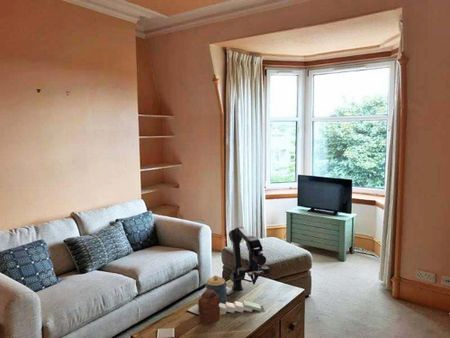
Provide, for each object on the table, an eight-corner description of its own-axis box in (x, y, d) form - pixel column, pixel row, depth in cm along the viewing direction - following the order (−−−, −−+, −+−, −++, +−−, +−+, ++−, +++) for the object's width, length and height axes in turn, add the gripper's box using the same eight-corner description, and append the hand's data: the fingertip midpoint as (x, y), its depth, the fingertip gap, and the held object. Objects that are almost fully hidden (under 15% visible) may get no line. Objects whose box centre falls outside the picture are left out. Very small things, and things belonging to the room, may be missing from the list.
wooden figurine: (215, 315, 196) (214, 285, 194) (221, 320, 191) (220, 289, 189) (197, 322, 190) (195, 291, 188) (203, 328, 184) (201, 295, 182)
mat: (221, 309, 203) (221, 308, 203) (262, 306, 205) (262, 305, 205) (222, 315, 196) (222, 315, 196) (265, 312, 198) (265, 311, 198)
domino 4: (250, 307, 204) (234, 303, 202) (250, 305, 203) (234, 301, 202) (251, 311, 199) (235, 308, 197) (252, 309, 198) (236, 305, 197)
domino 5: (258, 306, 204) (242, 303, 203) (259, 304, 204) (243, 300, 203) (260, 311, 199) (244, 307, 198) (261, 308, 199) (244, 304, 198)
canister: (231, 302, 211) (230, 274, 209) (216, 311, 201) (216, 282, 200) (216, 296, 220) (215, 269, 218) (201, 304, 210) (200, 276, 208)
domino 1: (225, 309, 202) (208, 311, 201) (225, 306, 202) (207, 308, 201) (226, 313, 197) (208, 315, 196) (225, 311, 197) (208, 313, 196)
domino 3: (241, 308, 203) (225, 304, 202) (242, 305, 203) (226, 301, 202) (242, 312, 198) (226, 308, 197) (243, 310, 198) (227, 305, 197)
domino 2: (232, 308, 202) (216, 304, 201) (233, 306, 202) (217, 302, 201) (233, 313, 197) (217, 309, 196) (234, 310, 197) (218, 306, 196)
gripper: (266, 253, 214) (266, 277, 216) (236, 255, 212) (236, 279, 214) (270, 260, 203) (270, 285, 205) (238, 262, 201) (239, 287, 203)
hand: (253, 284), depth 207 cm, fingers closed
